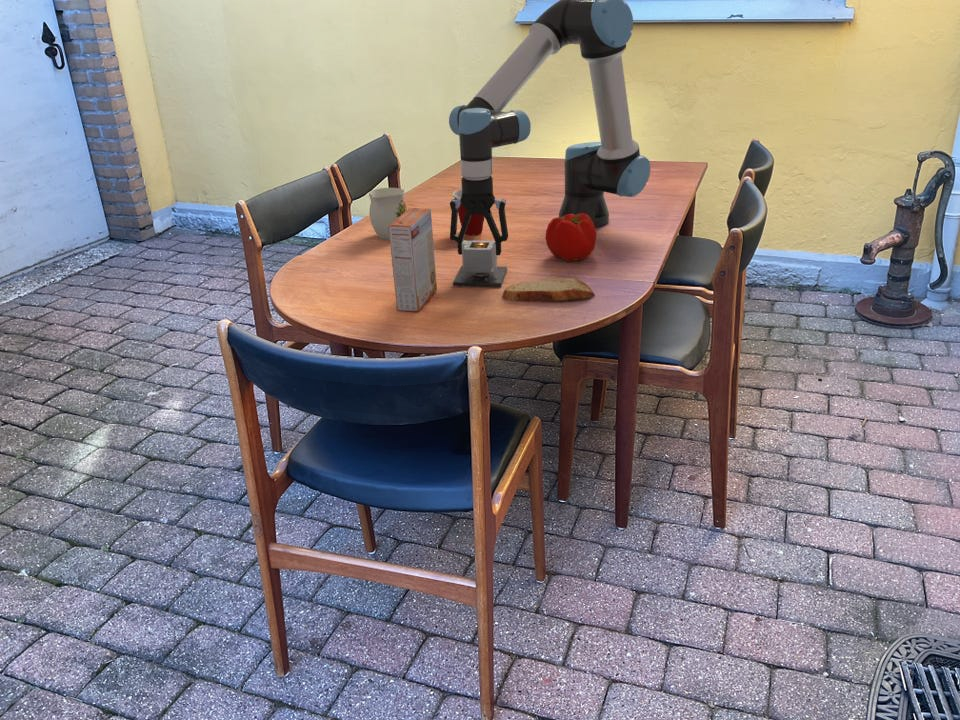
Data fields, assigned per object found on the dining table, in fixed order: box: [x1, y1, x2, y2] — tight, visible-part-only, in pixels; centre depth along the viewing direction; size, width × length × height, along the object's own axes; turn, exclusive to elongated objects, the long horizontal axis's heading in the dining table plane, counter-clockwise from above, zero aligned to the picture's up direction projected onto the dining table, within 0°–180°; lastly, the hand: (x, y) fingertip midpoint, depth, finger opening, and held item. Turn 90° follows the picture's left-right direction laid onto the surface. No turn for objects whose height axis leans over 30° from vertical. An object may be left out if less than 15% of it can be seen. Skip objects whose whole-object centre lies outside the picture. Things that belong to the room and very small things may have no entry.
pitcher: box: [368, 187, 408, 240], centre depth 237 cm, size 11×18×14 cm, turn 163°
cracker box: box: [388, 207, 438, 313], centre depth 189 cm, size 14×6×21 cm, turn 165°
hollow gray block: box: [463, 240, 494, 273], centre depth 203 cm, size 7×7×6 cm
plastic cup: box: [452, 188, 485, 237], centre depth 237 cm, size 11×11×12 cm
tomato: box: [545, 213, 597, 262], centre depth 215 cm, size 13×14×12 cm
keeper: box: [452, 243, 508, 288], centre depth 203 cm, size 12×12×9 cm
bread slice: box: [501, 277, 596, 303], centre depth 193 cm, size 18×18×4 cm
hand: (480, 266), depth 204 cm, fingers closed on hollow gray block, 7 cm apart
